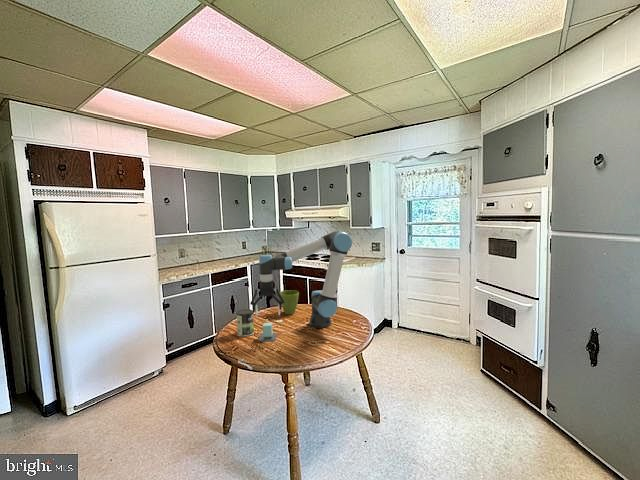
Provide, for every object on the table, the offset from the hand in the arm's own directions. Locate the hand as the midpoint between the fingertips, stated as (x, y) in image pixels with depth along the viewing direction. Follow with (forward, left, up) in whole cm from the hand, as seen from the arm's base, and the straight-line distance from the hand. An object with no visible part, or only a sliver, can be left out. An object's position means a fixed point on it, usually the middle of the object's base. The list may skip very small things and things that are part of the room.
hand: (268, 315), depth 181 cm
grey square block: (0, 0, -14) cm, 14 cm away
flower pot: (-10, -46, -14) cm, 49 cm away
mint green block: (0, 0, -12) cm, 12 cm away
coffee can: (+16, -8, -14) cm, 22 cm away
